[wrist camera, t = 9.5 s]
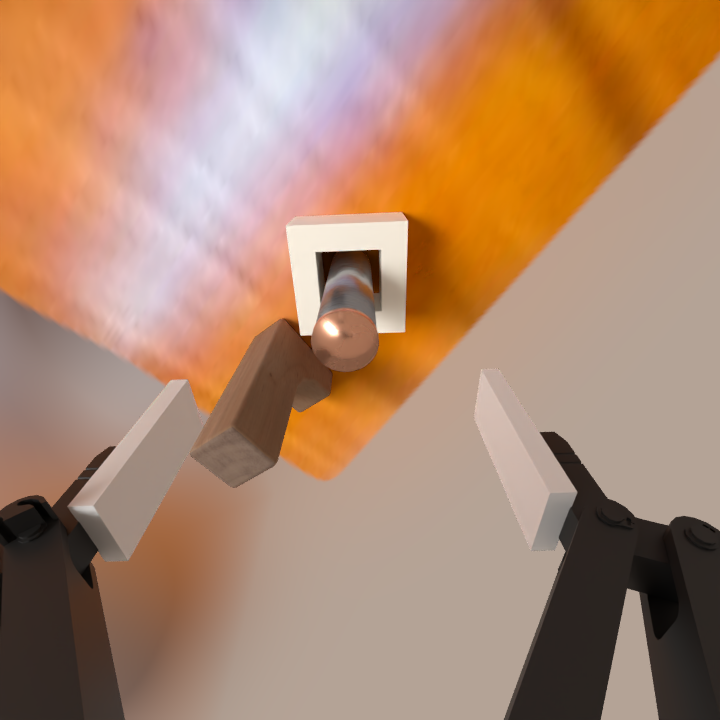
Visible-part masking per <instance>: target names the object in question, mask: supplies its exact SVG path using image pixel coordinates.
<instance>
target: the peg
mask: <svg viewBox="0 0 720 720" xmlns="http://www.w3.org/2000/svg"><path fill="white" fill-rule="evenodd" d="M311 346H312V350H313V352H314V354H315V356H316V357H317V359H318V360H319V361H320V362H321V363H322V364H323V365H325V366H326V367H328V368H330V369H333V370H336V371H341V372H350V371H355V370H359V369H361V368H363V367H365V366H366V365H367V364H369V363H370V362H371V361H372V360H373V358H374V357H375V355H376V353H377V350H378V346H379V339H378V332H377V327H376V316H375V305H374V295H373V284H372V273H371V263H370V260H369V258H368V256H367V255H366V253H365V252H363V251H362V250H356V251H338V252H337V253H336V254H335V256H334V257H333V259H332V263H331V267H330V270H329V274H328V278H327V282H326V286H325V290H324V293H323V297H322V301H321V305H320V309H319V313H318V317H317V320H316V324H315V326H314V329H313V332H312V336H311Z"/></svg>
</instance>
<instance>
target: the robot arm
mask: <svg viewBox="0 0 720 720" xmlns="http://www.w3.org/2000/svg"><path fill="white" fill-rule="evenodd" d="M474 419H475V422H476V424H477V426H478V429H479V431H480V433H481V435H482V438H483V440H484V443H485V445H486V447H487V450H488V452H489V454H490V457H491V459H492V461H493V464H494V466H495V468H496V471H497V473H498V475H499V478H500V480H501V482H502V485H503V487H504V489H505V492H506V494H507V496H508V499H509V501H510V504H511V506H512V508H513V511H514V513H515V515H516V517H517V520H518V522H519V524H520V527H521V529H522V532H523V534H524V536H525V539H526V541H527V543H528V545H529V548H530V550H531V551H545V550H555V548H556V546H557V543H558V541H559V539H560V541H561V543H562V545H563V547H564V549H565V551H566V552H565V554H564V557H563V559H562V561H561V564H560V566H559V568H558V573H557V576H556V578H555V581H554V584H553V587H552V589H551V592H550V595H549V598H548V600H547V603H546V606H545V609H544V611H543V614H542V617H541V619H540V622H539V625H538V628H537V630H536V633H535V636H534V639H533V641H532V644H531V647H530V650H529V653H528V655H527V658H526V660H525V664H524V666H523V669H522V671H521V674H520V677H519V680H518V682H517V685H516V688H515V690H514V693H513V696H512V699H511V701H510V704H509V707H508V710H507V713H506V715H505V718H504V720H601V715H602V710H603V704H604V700H605V695H606V690H607V685H608V680H609V675H610V670H611V665H612V660H613V655H614V650H615V645H616V640H617V635H618V629H619V625H620V620H621V615H622V610H623V605H624V600H625V595H626V590H627V588H628V589H631V590H635V591H638V592H639V593H640V600H641V605H642V613H643V619H644V625H645V631H646V638H647V645H648V651H649V658H650V664H651V670H652V677H653V684H654V690H655V696H656V703H657V709H658V716H659V720H720V531H719V530H718V529H716V528H714V527H713V526H711V525H710V524H708V523H706V522H704V521H701V520H698V519H696V518H692V517H686V516H681V517H676V518H675V519H674V520H672V521H671V523H670V524H669V526H668V525H664V524H659V523H655V522H651V521H647V520H642V519H639V518H636V517H634V515H633V514H632V513H631V512H630V511H629V510H628V509H627V508H626V507H624V506H622V505H621V504H619V503H617V502H616V501H613V500H610V499H607V497H606V496H605V494H604V493H603V492H602V490H601V489H600V487H599V486H598V485H597V483H596V482H595V480H594V479H593V478H592V476H591V475H590V473H589V472H588V471H587V469H586V468H585V466H584V465H583V464H581V461H580V459H579V458H578V456H577V455H575V453H574V451H573V450H572V448H571V447H570V445H569V444H568V442H566V440H564V439H563V438H562V437H560V436H559V435H558V434H556V433H555V432H539V431H538V429H537V428H536V426H535V425H534V423H533V422H532V420H531V419H530V417H529V415H528V414H527V412H526V411H525V409H524V408H523V406H522V404H521V403H520V401H519V400H518V398H517V396H516V395H515V393H514V392H513V390H512V389H511V387H510V385H509V384H508V383H507V381H506V379H505V378H504V376H503V374H502V373H501V371H500V370H499V369H481V375H480V382H479V388H478V395H477V401H476V408H475V415H474ZM203 427H204V426H203V423H202V420H201V417H200V414H199V411H198V408H197V405H196V402H195V399H194V396H193V393H192V390H191V387H190V384H189V381H188V380H171V381H170V382H169V383H168V384H167V386H166V387H165V388H164V389H163V391H162V392H161V393H160V394H159V395H158V397H157V398H156V399H155V400H154V401H153V403H152V404H151V405H150V406H149V408H148V409H147V410H146V411H145V413H144V414H143V415H142V416H141V417H140V419H139V420H138V421H137V422H136V423H135V425H134V426H133V427H132V428H131V430H130V431H129V432H128V433H127V434H126V436H125V437H124V438H123V439H122V441H121V442H120V443H119V444H118V445H117V446H114V447H108V448H107V449H106V450H104V451H103V452H101V453H100V454H99V455H97V456H96V457H95V458H94V459H93V460H92V462H91V463H90V464H89V465H88V466H87V468H86V470H84V471H83V472H82V473H81V474H80V476H79V477H78V480H75V481H74V482H73V484H72V485H71V486H70V487H69V488H68V489H67V491H66V492H65V493H64V494H63V495H62V496H61V498H60V499H59V500H58V501H57V502H56V504H55V505H54V506H53V507H52V508H51V506H50V505H49V504H48V502H47V501H46V500H45V498H44V497H42V496H38V495H35V496H28V497H25V498H22V499H19V500H17V501H15V502H13V503H11V504H9V505H7V506H6V507H4V508H3V509H2V510H1V511H0V720H125V718H124V713H123V708H122V703H121V698H120V693H119V688H118V683H117V678H116V673H115V668H114V663H113V658H112V653H111V648H110V643H109V638H108V633H107V628H106V623H105V617H104V613H103V608H102V602H101V597H100V592H99V588H98V582H97V577H96V572H95V568H94V566H93V564H92V563H91V561H92V559H93V557H94V556H95V554H96V553H97V551H98V552H99V553H100V555H101V556H102V558H103V559H104V560H105V561H128V560H129V558H130V557H131V555H132V553H133V551H134V549H135V548H136V546H137V544H138V543H139V541H140V539H141V537H142V535H143V534H144V532H145V530H146V528H147V527H148V525H149V523H150V521H151V519H152V518H153V516H154V514H155V512H156V510H157V509H158V507H159V505H160V503H161V502H162V500H163V498H164V496H165V495H166V493H167V491H168V489H169V488H170V486H171V484H172V482H173V480H174V479H175V477H176V475H177V473H178V472H179V470H180V468H181V466H182V464H183V463H184V461H185V459H186V457H187V456H188V454H189V452H190V450H191V449H192V447H193V445H194V443H195V441H196V440H197V438H198V436H199V434H200V433H201V431H202V429H203Z"/></svg>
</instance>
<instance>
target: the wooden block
mask: <svg viewBox="0 0 720 720" xmlns="http://www.w3.org/2000/svg"><path fill="white" fill-rule="evenodd" d="M331 383H332V372H331V371H330V370H329V369H328V368H327V367H326V366H325V365H323V364H322V363H321V362H320V361H319V360H318V359H317V357H316V356H315V354H314V352H313V351H312V350H311V349H310V348H309V346H308V345H307V344H306V343H305V342H304V341H303V340H302V339H301V337H300V336H299V335H298V334H297V333H296V332H295V331H294V330H293V328H292V327H291V326H290V325H289V324H288V323H287V322H286V321H285V320H284V319H280V320H278V321H277V322H275V323H274V324H273V325H271V326H270V327H268V328H267V329H266V330H264V331H263V332H261V333H260V334H259V335H257V336H256V337H255V338H254V339H253V341H252V343H251V345H250V346H249V348H248V350H247V352H246V353H245V355H244V357H243V359H242V360H241V362H240V364H239V366H238V368H237V369H236V371H235V373H234V375H233V376H232V378H231V380H230V382H229V383H228V385H227V387H226V389H225V390H224V392H223V394H222V396H221V397H220V399H219V401H218V403H217V404H216V406H215V408H214V410H213V411H212V413H211V415H210V417H209V418H208V420H207V422H206V424H205V425H204V427H203V429H202V431H201V433H200V434H199V436H198V438H197V440H196V441H195V443H194V445H193V447H192V449H191V450H190V455H191V457H192V458H194V459H195V460H196V461H198V462H199V463H200V464H201V465H203V466H204V467H205V468H207V469H208V470H209V471H211V472H212V473H213V474H214V475H216V476H217V477H218V478H220V479H221V480H222V481H224V482H225V483H226V484H228V485H229V486H230V487H233V488H235V487H238V486H239V485H241V484H243V483H245V482H246V481H248V480H250V479H252V478H254V477H255V476H257V475H259V474H261V473H263V472H264V471H266V470H268V469H269V468H272V467H273V466H274V465H275V464H276V463H277V461H278V457H279V454H280V450H281V446H282V442H283V439H284V435H285V431H286V427H287V424H288V420H289V416H290V412H291V409H292V407H293V408H294V409H295V410H297V411H298V412H302V411H304V410H306V409H307V408H309V407H311V406H312V405H314V404H316V403H317V402H319V401H321V400H322V399H324V398H326V397H327V396H329V394H330V391H331Z"/></svg>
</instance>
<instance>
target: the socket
mask: <svg viewBox="0 0 720 720" xmlns="http://www.w3.org/2000/svg"><path fill="white" fill-rule="evenodd" d="M286 231H287V239H288V246H289V254H290V261H291V269H292V276H293V283H294V291H295V298H296V306H297V313H298V321H299V328H300V335H301V336H303V335H312V332H313V329H314V326H315V324H316V320H317V317H318V313H319V309H320V305H321V301H322V297H323V293H324V290H325V281H324V270H323V258H322V252H330V251H356V250H379V293H373V295H374V305H375V316H376V327H377V332H378V333H391V332H405V314H406V278H407V242H408V220H407V219H406V217H405V216H404V214H403V213H402V212H391V213H367V214H342V215H317V216H295V217H294V218H293V219H292V220H291V221H290V222H289V223H288V224H287V225H286Z"/></svg>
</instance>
